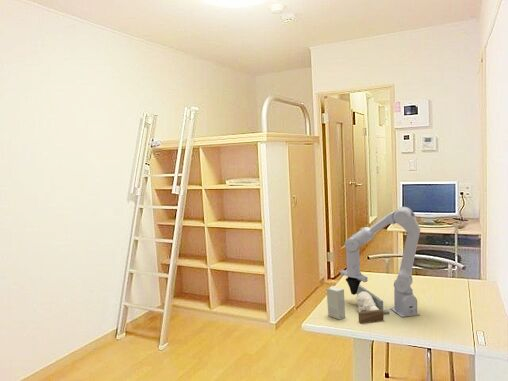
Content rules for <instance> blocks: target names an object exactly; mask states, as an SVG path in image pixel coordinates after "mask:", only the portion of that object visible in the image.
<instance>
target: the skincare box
mask: <svg viewBox="0 0 508 381" xmlns="http://www.w3.org/2000/svg"><path fill="white" fill-rule="evenodd" d="M326 301H327V302H326V303H327V316H329V317H332V318H334V319H336V320H342V319H344V318H346V309H345V308H346V307H345V289H344V288H341V287H338V286H334V285H332V286H329V287H327V288H326Z"/></svg>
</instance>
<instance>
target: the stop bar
mask: <svg viewBox="0 0 508 381" xmlns="http://www.w3.org/2000/svg"><path fill="white" fill-rule="evenodd" d="M383 310H384V309H383ZM383 310H382V309H381V310H373V311H365V310H364V311H362V312H359V311H358V323H359V324H368V323H375V322H382V321H384V315H383Z"/></svg>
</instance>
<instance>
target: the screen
mask: <svg viewBox="0 0 508 381" xmlns="http://www.w3.org/2000/svg"><path fill="white" fill-rule="evenodd" d="M362 291H365V292H367V293H369V294H370V295H371V296H372V298H373V300H374V302H375V304H376V307H377V308H378V309H379V310H381V309H382V310H383V316H384V315H390V311H389V310H387V309H384V300H382V299H381V298H380V297H378V296H376V295H375V294H374V293H372V292H371V291H370V290H368V289H367V288H365V287H364V286H362V285H361V284H359V287H358V290H357V294H356V297H357V296H358V294H359V293H360V292H362Z"/></svg>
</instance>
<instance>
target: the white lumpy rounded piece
mask: <svg viewBox="0 0 508 381" xmlns="http://www.w3.org/2000/svg"><path fill="white" fill-rule="evenodd" d="M355 300H356V301H355V302H356V305H357V307H358V312H364V311H373V310H379V309H378V308H377V307H376V304H375V302H374V300H373V298H372V296H371V295H370V294H369V293H367V292H365V291H362V292H360V293H359V294H358V296H357V295H356V298H355Z"/></svg>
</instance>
